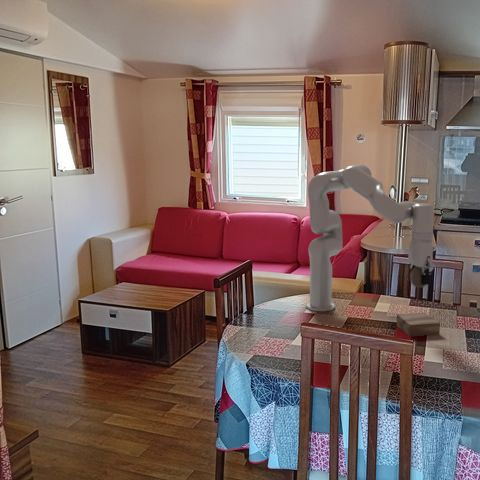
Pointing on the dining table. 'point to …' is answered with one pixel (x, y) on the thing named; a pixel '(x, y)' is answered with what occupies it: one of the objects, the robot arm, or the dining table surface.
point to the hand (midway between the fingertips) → (419, 281)
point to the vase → (416, 276)
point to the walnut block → (418, 324)
